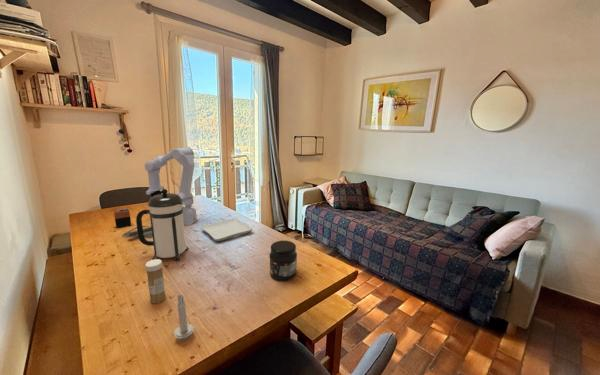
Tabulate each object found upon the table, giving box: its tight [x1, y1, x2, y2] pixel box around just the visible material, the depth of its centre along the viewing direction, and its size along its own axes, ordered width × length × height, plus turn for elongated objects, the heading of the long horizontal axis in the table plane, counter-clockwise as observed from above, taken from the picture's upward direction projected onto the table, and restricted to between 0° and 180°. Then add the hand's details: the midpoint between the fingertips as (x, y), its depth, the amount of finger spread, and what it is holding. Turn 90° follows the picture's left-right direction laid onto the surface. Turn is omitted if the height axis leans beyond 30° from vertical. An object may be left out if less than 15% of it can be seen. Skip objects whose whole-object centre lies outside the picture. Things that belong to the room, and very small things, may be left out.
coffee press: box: [135, 188, 189, 262], centre depth 106 cm, size 17×16×30 cm
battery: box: [113, 207, 132, 229], centre depth 139 cm, size 4×7×10 cm, turn 130°
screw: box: [173, 294, 195, 342], centre depth 66 cm, size 13×5×5 cm
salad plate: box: [200, 217, 254, 242], centre depth 135 cm, size 21×21×3 cm
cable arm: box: [126, 225, 152, 238], centre depth 128 cm, size 14×4×4 cm, turn 141°
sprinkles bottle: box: [144, 258, 167, 304], centre depth 80 cm, size 5×5×13 cm
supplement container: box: [269, 240, 298, 282], centre depth 96 cm, size 10×10×12 cm
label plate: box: [121, 225, 153, 239], centre depth 133 cm, size 15×13×1 cm
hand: (157, 203), depth 152 cm, fingers closed
